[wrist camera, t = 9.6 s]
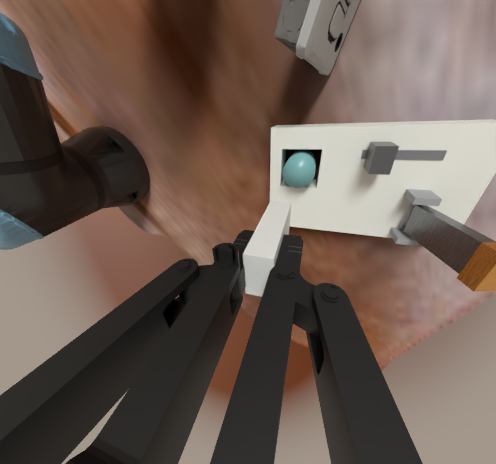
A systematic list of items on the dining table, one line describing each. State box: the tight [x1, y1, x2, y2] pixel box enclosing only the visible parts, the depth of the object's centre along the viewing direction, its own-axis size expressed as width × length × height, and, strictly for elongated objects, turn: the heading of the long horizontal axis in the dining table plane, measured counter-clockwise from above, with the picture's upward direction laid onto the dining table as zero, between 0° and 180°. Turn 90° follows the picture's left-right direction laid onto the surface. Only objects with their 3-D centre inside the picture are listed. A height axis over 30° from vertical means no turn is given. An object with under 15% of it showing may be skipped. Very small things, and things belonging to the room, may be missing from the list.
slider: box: [364, 142, 399, 175], centre depth 22 cm, size 2×3×3 cm
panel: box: [270, 119, 496, 246], centre depth 26 cm, size 24×14×7 cm, turn 93°
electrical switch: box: [274, 0, 360, 75], centre depth 18 cm, size 9×5×9 cm, turn 164°
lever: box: [400, 203, 496, 291], centre depth 20 cm, size 2×4×10 cm, turn 3°
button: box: [283, 149, 316, 188], centre depth 27 cm, size 4×4×5 cm
